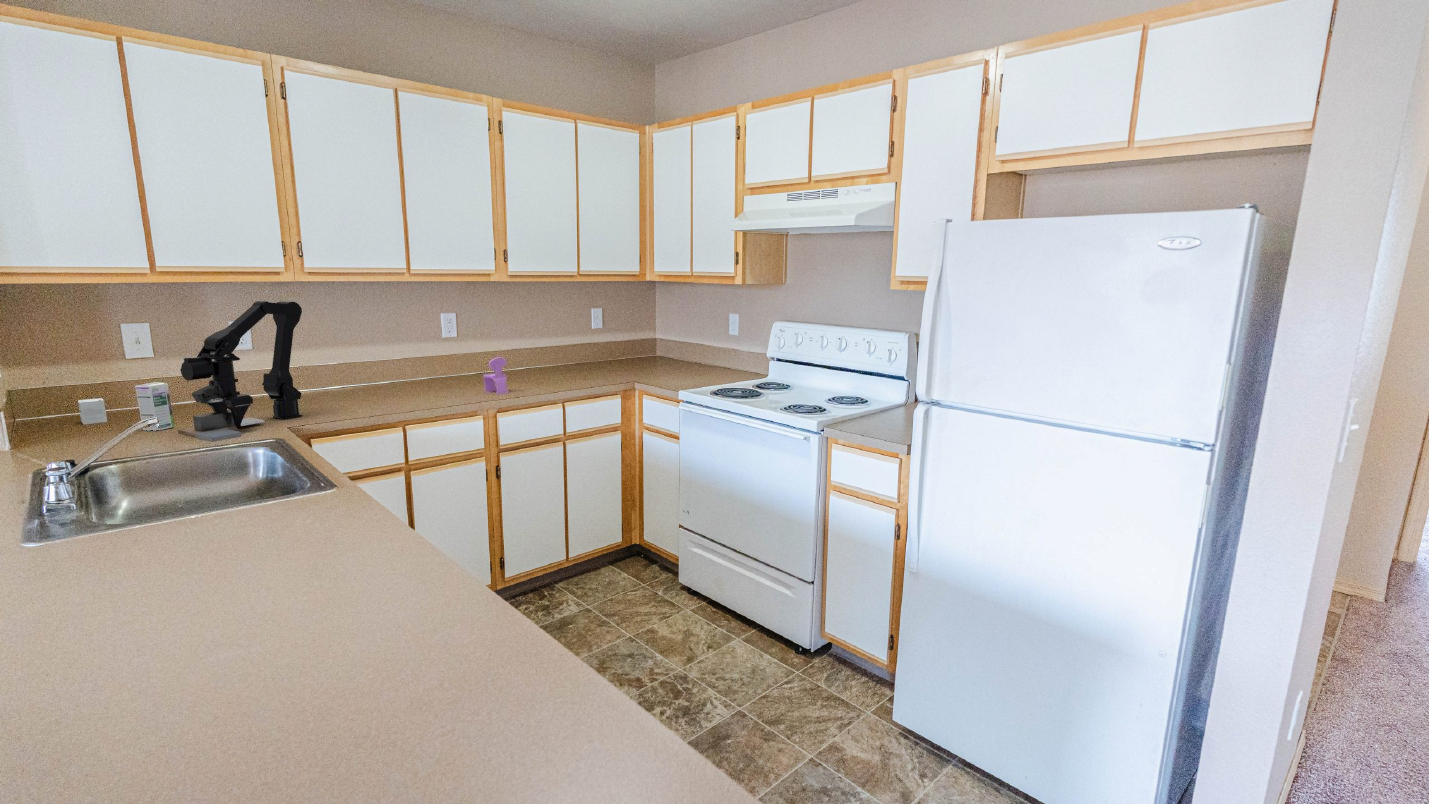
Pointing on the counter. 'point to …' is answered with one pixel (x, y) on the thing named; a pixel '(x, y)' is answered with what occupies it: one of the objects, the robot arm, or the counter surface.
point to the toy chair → (496, 377)
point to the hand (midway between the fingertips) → (229, 425)
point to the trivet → (192, 431)
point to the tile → (218, 435)
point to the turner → (219, 421)
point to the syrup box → (155, 404)
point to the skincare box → (92, 411)
